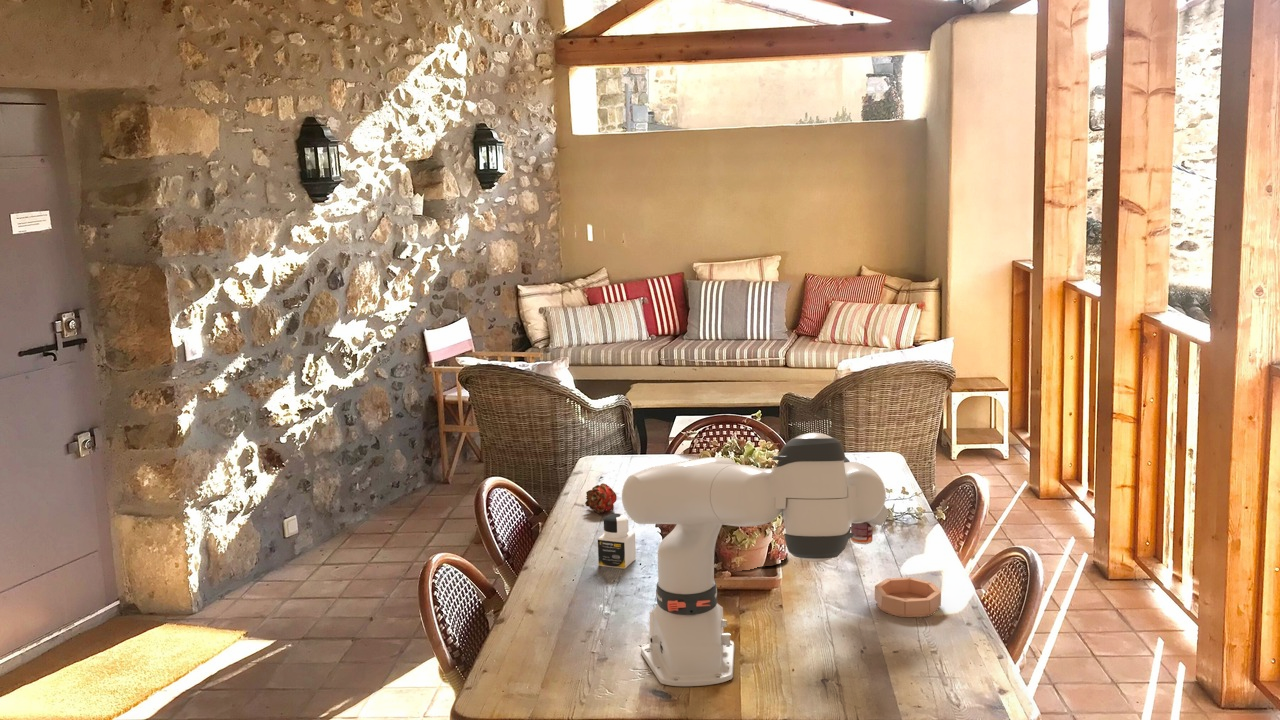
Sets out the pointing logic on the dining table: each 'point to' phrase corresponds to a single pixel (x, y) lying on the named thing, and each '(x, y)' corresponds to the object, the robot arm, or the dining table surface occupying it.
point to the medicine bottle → (616, 543)
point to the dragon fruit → (601, 498)
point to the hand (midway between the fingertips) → (863, 520)
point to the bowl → (907, 597)
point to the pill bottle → (861, 533)
